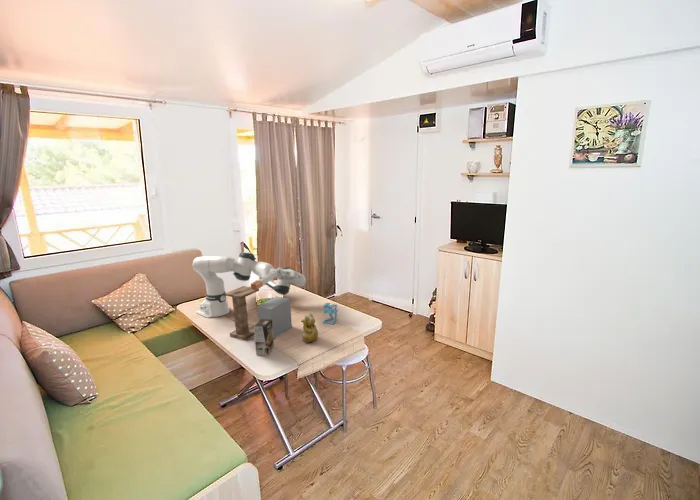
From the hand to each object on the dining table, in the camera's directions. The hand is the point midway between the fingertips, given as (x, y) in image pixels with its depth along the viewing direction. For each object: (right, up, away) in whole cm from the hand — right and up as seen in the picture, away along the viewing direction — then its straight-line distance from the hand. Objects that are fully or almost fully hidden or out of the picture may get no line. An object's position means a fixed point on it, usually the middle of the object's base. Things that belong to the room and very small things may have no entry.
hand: (277, 270), depth 218 cm
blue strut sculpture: (+33, -31, +1) cm, 46 cm away
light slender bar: (-4, -5, -6) cm, 9 cm away
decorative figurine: (+23, -37, -23) cm, 49 cm away
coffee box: (+1, -40, -33) cm, 52 cm away
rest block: (+2, -35, -11) cm, 36 cm away
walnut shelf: (-15, -36, -12) cm, 41 cm away
